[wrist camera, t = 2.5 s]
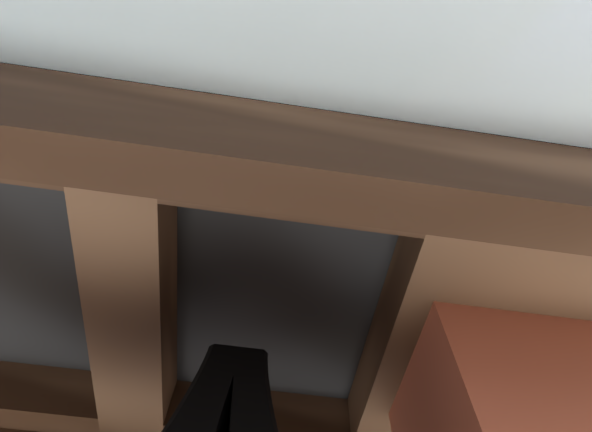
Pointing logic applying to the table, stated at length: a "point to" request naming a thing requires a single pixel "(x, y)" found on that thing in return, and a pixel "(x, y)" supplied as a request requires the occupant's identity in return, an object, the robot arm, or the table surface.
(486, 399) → the block
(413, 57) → the table surface
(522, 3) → the table surface
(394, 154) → the wooden frame
